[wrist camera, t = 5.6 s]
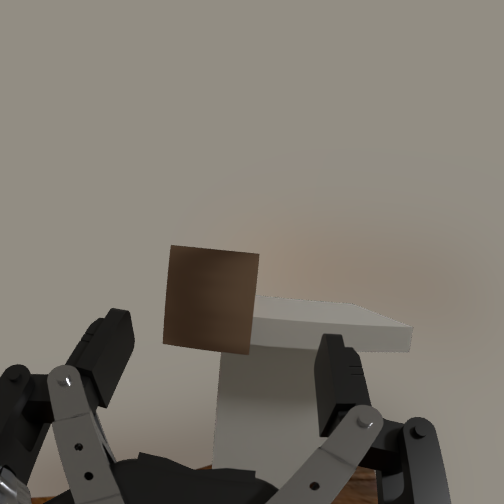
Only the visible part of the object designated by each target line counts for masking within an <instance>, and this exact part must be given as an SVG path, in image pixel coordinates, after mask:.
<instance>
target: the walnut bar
mask: <svg viewBox="0 0 504 504" xmlns="http://www.w3.org/2000/svg"><path fill="white" fill-rule="evenodd" d="M258 264H259V254H254V253H245V252H235V251H225V250H215V249H204V248H195V247H185V246H175V245H171V249H170V258H169V268H168V279H167V290H166V303H165V316H164V331H163V344H168V345H174V346H180V347H187V348H195V349H201V350H209V351H217V352H225V353H233V354H242V355H249V350H250V341H251V331H252V322H253V313H254V303H255V293H256V283H257V274H258Z"/></svg>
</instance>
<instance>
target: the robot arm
mask: <svg viewBox="0 0 504 504" xmlns="http://www.w3.org/2000/svg"><path fill="white" fill-rule="evenodd" d="M134 342H135V338H134V332H133V327H132V321H131V316H130V312H129V311H126V310H120V309H115V308H112V309H110V311H109V312H108V314H107V315H106V317H105V318H99V319H97V320H96V321H94V322H93V323H92V324H91V325H90V326H89V328H88V329H87V331H86V332H85V334H84V335H83V337H82V338H81V341H80V342H79V343H78V345H77V346H76V348H75V349H74V351H73V353H72V354H71V356H70V357H69V359H68V361H67V362H66V364H65V365H61V366H58V367H56V368H54V369H53V370H52V371H51V372H50V373H49V374H47V375H44V374H30V371H29V370H28V368H26V367H25V366H24V365H18V364H17V365H12V366H10V367H9V368H7V369H6V370H5V371H4V373H3V374H2V376H1V377H0V504H31V495H30V491H29V489H28V487H27V483H28V480H29V477H30V475H31V472H32V469H33V467H34V464H35V462H36V459H37V456H38V454H39V451H40V449H41V446H42V444H43V441H44V439H45V436H46V434H47V432H48V429H49V427H50V424H52V427H53V431H54V436H55V440H56V443H57V447H58V451H59V455H60V458H61V462H62V465H63V468H64V472H65V475H66V478H67V481H68V484H69V487H70V489H69V490H67V491H65V492H64V493H62V494H60V495H58V496H56V497H54V498H53V499H51V500H49V501H47V502H45V503H43V504H331V502H332V501H333V500H334V499H335V497H336V496H337V495H338V493H339V492H340V491H341V489H342V488H343V487H344V485H345V484H346V483H347V481H348V480H349V479H350V477H351V476H352V474H353V473H354V472H355V470H356V467H357V466H361V467H365V468H369V469H374V470H376V480H377V492H378V504H451V500H450V494H449V488H448V483H447V478H446V474H445V468H444V464H443V459H442V455H441V450H440V446H439V442H438V438H437V434H436V430H435V428H434V426H433V425H432V423H431V422H429V421H428V420H426V419H425V418H421V417H414V418H411V419H409V420H408V421H407V422H406V423H405V424H402V423H398V422H394V421H389V420H386V419H384V418H382V415H381V414H380V413H379V411H378V410H376V409H375V408H373V407H372V406H371V402H370V398H369V393H368V389H367V385H366V381H365V377H364V372H363V369H362V364H361V360H360V357H359V355H358V354H357V353H356V351H355V350H354V349H353V347H345V345H344V341H343V337H342V335H341V334H327V333H324V334H323V335H322V338H321V342H320V345H319V348H318V352H317V355H316V358H315V363H314V379H315V390H316V401H317V412H318V424H319V437H328V439H327V440H326V441H325V442H324V443H323V445H322V446H321V447H318V448H317V449H316V450H315V451H314V452H313V454H312V455H311V456H310V457H309V458H308V459H307V460H306V462H305V463H304V464H303V465H302V466H301V467H300V468H299V469H298V470H297V472H296V473H295V474H294V475H293V476H292V477H291V478H290V479H289V480H288V481H287V482H286V483H285V484H284V485H283V486H282V487H281V488H280V490H279V489H278V488H276V487H275V486H274V485H272V484H270V483H268V482H266V481H264V480H262V479H259V478H255V474H256V471H253V470H241V469H232V468H219V469H207V470H193V469H191V468H188V467H186V466H183V465H181V464H179V463H176V462H174V461H172V460H169V459H167V458H163V457H158V456H154V455H150V454H145V453H141V452H139V455H138V459H127V460H122V461H119V462H116V460H115V458H114V455H113V454H112V452H111V449H110V447H109V444H108V442H107V439H106V437H105V434H104V431H103V429H102V426H101V423H100V420H99V417H98V415H97V413H96V409H97V407H98V406H100V407H103V408H107V407H108V404H109V402H110V400H111V398H112V395H113V393H114V391H115V389H116V386H117V384H118V382H119V380H120V377H121V375H122V373H123V371H124V369H125V367H126V365H127V362H128V360H129V358H130V356H131V354H132V352H133V349H134Z"/></svg>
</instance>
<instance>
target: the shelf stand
mask: <svg viewBox="0 0 504 504" xmlns="http://www.w3.org/2000/svg"><path fill="white" fill-rule="evenodd" d="M412 331H413V327H411V326H409V325H407V324H404V323H401V322H399V321H396V320H393V319H391V318H388V317H386V316H383V315H381V314H378V313H375V312H373V311H370V310H367V309H365V308H363V307H360V306H357V305H355V304H350V303H337V302H324V301H312V300H300V299H289V298H277V297H268V296H257V295H255V303H254V313H253V322H252V331H251V341H250V350H249V355H242V354H233V353H225V352H221V360H220V371H219V383H218V396H217V408H216V420H215V421H216V422H215V435H214V447H213V461H212V462H213V463H212V469H219V468H232V469H241V470H253V471H256V474H255V478H259V479H262V480H264V481H266V482H268V483H270V484H272V485H274V486H275V487H276V488H278V489H279V490H280V488H281V487H282V486H283V485H284V484H285V483H286V482H287V481H288V480H289V479H290V478H291V477H292V476H293V475H294V474H295V473H296V472H297V470H298V469H299V468H300V467H301V466H302V465H303V464H304V463H305V462H306V460H307V459H308V458H309V457H310V456H311V455H312V454H313V452H314V451H315V450H316V449H317V448H318V447H321V446H322V445H323V443H324V442H325V441H326V440H327V439H328V437H319V424H318V412H317V401H316V390H315V379H314V363H315V358H316V355H317V352H318V348H319V345H320V342H321V338H322V335H323V334H324V333H327V334H341V335H342V337H343V341H344V345H345V347H353V349H354V350H355V351H356V352H409V350H410V344H411V338H412Z"/></svg>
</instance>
